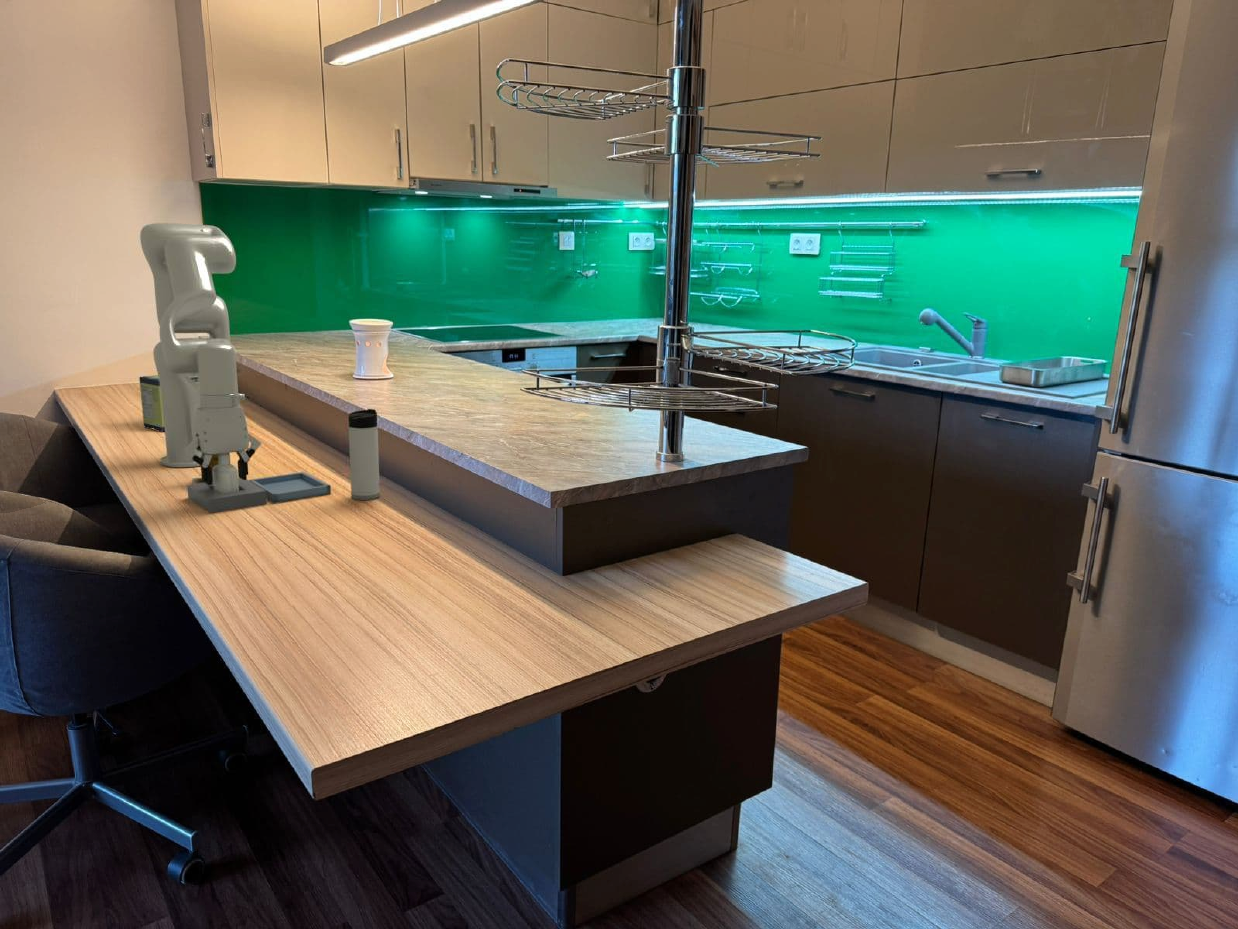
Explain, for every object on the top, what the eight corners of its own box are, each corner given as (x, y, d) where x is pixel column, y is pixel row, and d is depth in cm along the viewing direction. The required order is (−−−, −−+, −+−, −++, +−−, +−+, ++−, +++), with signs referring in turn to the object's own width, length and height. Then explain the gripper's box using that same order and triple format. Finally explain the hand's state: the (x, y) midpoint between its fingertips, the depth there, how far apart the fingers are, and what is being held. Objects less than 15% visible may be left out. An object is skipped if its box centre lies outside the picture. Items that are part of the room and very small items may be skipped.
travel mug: (386, 495, 197) (384, 410, 192) (367, 502, 191) (364, 414, 186) (365, 491, 199) (362, 407, 194) (345, 497, 193) (342, 411, 188)
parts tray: (249, 488, 198) (248, 479, 197) (303, 479, 206) (303, 471, 206) (274, 503, 187) (274, 494, 187) (330, 493, 196) (330, 485, 195)
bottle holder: (188, 498, 188) (186, 485, 188) (243, 489, 196) (242, 477, 196) (209, 513, 178) (208, 499, 178) (266, 503, 186) (266, 490, 186)
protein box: (211, 425, 262) (207, 375, 259) (162, 432, 250) (157, 380, 246) (191, 420, 268) (187, 371, 264) (142, 427, 255) (137, 376, 251)
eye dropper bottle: (220, 505, 184) (215, 452, 181) (213, 499, 188) (209, 446, 185) (241, 502, 187) (237, 449, 184) (234, 496, 191) (230, 444, 188)
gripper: (254, 395, 190) (259, 472, 195) (170, 402, 179) (178, 483, 183) (267, 400, 185) (272, 479, 189) (181, 407, 174) (189, 491, 178)
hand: (225, 480), depth 186 cm, fingers open, 6 cm apart
